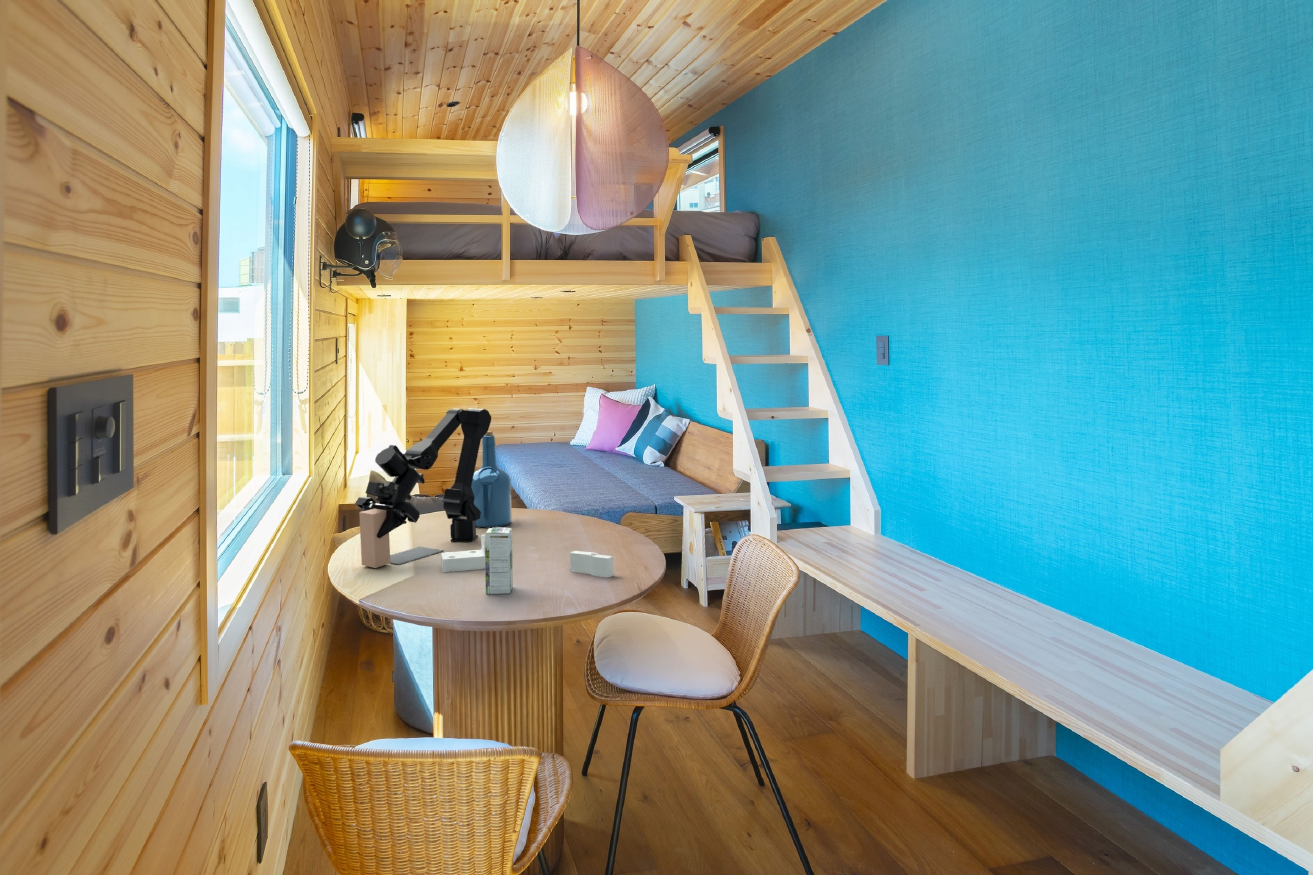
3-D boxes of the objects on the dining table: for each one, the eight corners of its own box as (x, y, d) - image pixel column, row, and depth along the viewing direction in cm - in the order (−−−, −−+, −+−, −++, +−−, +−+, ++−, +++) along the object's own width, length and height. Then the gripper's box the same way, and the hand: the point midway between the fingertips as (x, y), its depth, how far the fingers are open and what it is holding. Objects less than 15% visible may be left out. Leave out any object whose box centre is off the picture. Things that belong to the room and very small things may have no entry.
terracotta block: (377, 560, 216) (374, 508, 214) (390, 563, 214) (388, 510, 212) (361, 565, 212) (359, 512, 210) (375, 567, 209) (372, 514, 207)
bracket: (492, 561, 217) (491, 533, 217) (495, 568, 211) (494, 539, 210) (441, 566, 213) (440, 537, 213) (443, 573, 207) (442, 543, 206)
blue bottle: (472, 520, 268) (469, 429, 265) (513, 519, 269) (510, 428, 266) (467, 529, 254) (464, 433, 251) (510, 528, 256) (507, 433, 252)
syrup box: (488, 587, 193) (486, 527, 192) (513, 586, 194) (512, 526, 192) (485, 594, 188) (483, 532, 186) (511, 593, 188) (509, 532, 187)
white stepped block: (559, 571, 208) (559, 549, 208) (600, 565, 214) (600, 544, 213) (582, 586, 195) (582, 563, 195) (625, 580, 201) (625, 557, 200)
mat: (419, 547, 232) (419, 546, 232) (443, 551, 227) (443, 550, 227) (374, 560, 218) (374, 559, 218) (398, 565, 213) (398, 563, 213)
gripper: (358, 466, 218) (326, 515, 209) (409, 471, 209) (377, 522, 200) (383, 491, 225) (352, 538, 217) (433, 497, 216) (403, 546, 208)
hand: (370, 536), depth 210 cm, fingers closed on terracotta block, 5 cm apart
